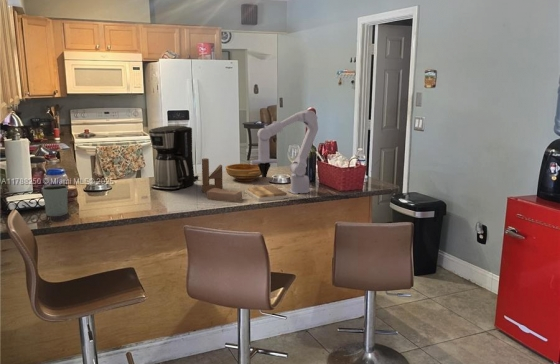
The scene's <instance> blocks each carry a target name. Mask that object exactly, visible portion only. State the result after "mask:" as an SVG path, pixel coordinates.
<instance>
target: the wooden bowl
mask: <svg viewBox="0 0 560 364" xmlns="http://www.w3.org/2000/svg"><path fill="white" fill-rule="evenodd" d="M224 169H225V171H226V173H227V175H228V176H230V177H232V178H233V179H235V180H236V181H238V182H251V181H255V179H257V178H259V177H262V175H261V171H260V169H259V167H258V164H254V165H251V164H250V163H234V164H233V163H232V164H228V165H226V166H225V168H224Z"/></svg>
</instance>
